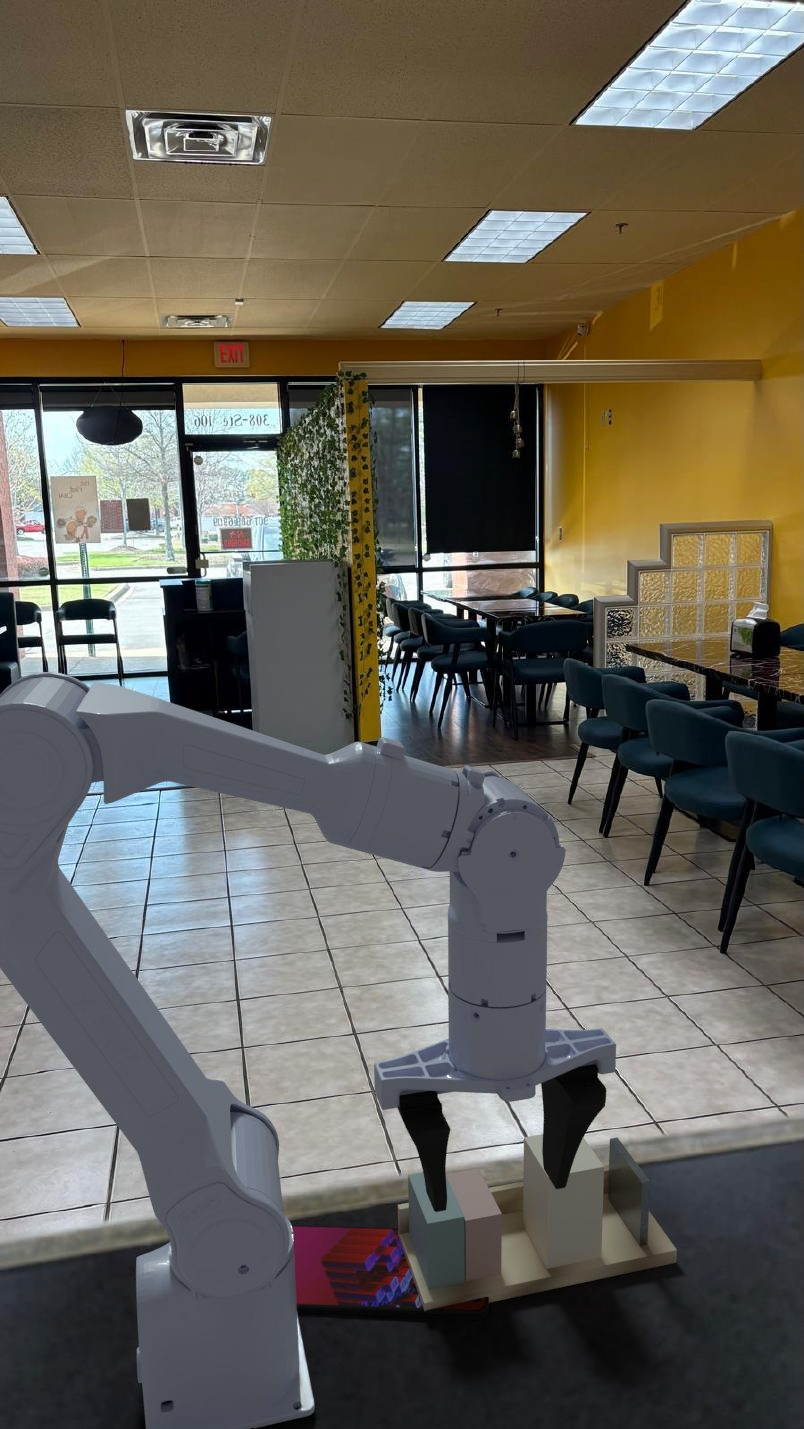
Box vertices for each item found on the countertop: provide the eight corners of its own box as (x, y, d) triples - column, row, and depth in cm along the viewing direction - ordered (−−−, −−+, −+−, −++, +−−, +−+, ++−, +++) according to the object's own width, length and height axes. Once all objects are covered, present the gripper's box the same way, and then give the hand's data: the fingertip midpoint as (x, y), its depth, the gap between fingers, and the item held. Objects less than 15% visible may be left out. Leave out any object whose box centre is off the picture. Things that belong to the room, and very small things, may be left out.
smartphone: (281, 1222, 74) (487, 1228, 73) (281, 1233, 74) (488, 1239, 73) (258, 1305, 67) (488, 1313, 65) (259, 1317, 67) (489, 1325, 66)
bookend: (639, 1246, 70) (641, 1182, 69) (608, 1198, 75) (609, 1138, 74) (647, 1244, 70) (650, 1180, 69) (615, 1197, 75) (617, 1137, 74)
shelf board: (424, 1316, 66) (423, 1276, 65) (398, 1241, 73) (397, 1204, 72) (676, 1262, 70) (678, 1224, 70) (630, 1196, 77) (631, 1161, 76)
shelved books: (428, 1290, 67) (427, 1223, 66) (409, 1237, 72) (408, 1174, 70) (501, 1274, 68) (502, 1209, 67) (478, 1224, 73) (478, 1162, 72)
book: (546, 1268, 68) (547, 1177, 67) (522, 1224, 73) (523, 1137, 71) (601, 1257, 69) (604, 1166, 68) (575, 1214, 74) (577, 1128, 72)
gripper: (392, 1036, 54) (396, 1258, 57) (642, 1000, 57) (635, 1210, 60) (364, 977, 61) (369, 1178, 63) (590, 947, 64) (585, 1139, 67)
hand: (496, 1189), depth 62 cm, fingers open, 7 cm apart
